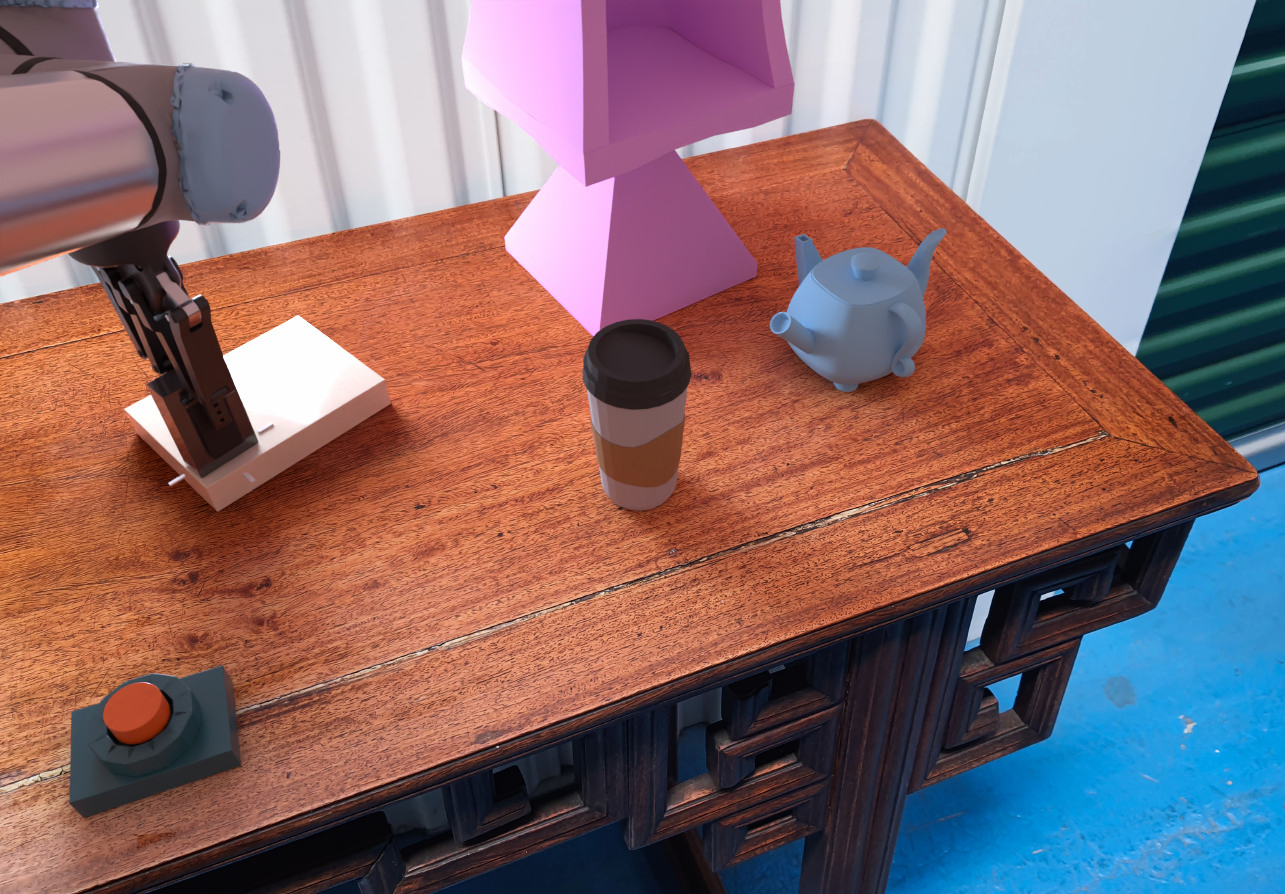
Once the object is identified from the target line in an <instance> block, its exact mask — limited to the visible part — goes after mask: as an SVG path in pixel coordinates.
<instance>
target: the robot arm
mask: <svg viewBox="0 0 1285 894" xmlns="http://www.w3.org/2000/svg"><path fill="white" fill-rule="evenodd" d="M98 8H99V4H98V1H97V0H0V278H1V277H4V276H7V275H10V274H13V273H16V272H19V271H22V270H25V269H27V268H30V267H33V266H37V265H39V264H41V263H45V262H48V261H50V260H54V259H56V258H60V257H62V256H65V255H68V256H69V257H70V258H72V259H73V260H74V261H76V262H78V263H80V264H82V265H85V266H89V267H91V270H92V271H93V272H94V274H95V275H96V277H97V279H98V281H99V282H100V285H101V286H102V288H103V290H104V292H105V294H106V296H107V298H108V299H109V301H110V303H111V305H112V307H113V308H114V311H115V313H116V315H117V317H118V319H119V320H120V322H121V324H122V326H123V327H124V329H125V331H126V333H127V335H128V337H129V340H130V341H131V342H132V345H133V346H134V348H135V350H136V354H137V355H138V356H139V358H141V359H142V360H144V361H145V360H147V359H148V360H149V363H150V366H151V369H152V370H153V372H154V373H156V375H158V376H161V375H163V374H165V373H167V372H168V371H170V370H172V369H175V371H176V373H177V375H178V377H179V379H180V380H181V382H182V384H183V386H184V388H185V390H186V392H187V394H188V395H186V396H184V397H182V398H181V399H179V401H180V402H181V404H182V405H183V406H184V407H185V408H186V409H188V408H189V410H190V412H191V415H192V417H193V419H194V421H195V423H196V425H197V428H198V430H199V432H200V434H201V436H202V438H203V440H204V443H205V445H206V447H207V449H208V451H209V453H210V456H211V457H213V458H214V459H215V460H217V459H218V458H220V457H221V456H223V455H225V454H226V453H228V452H229V451H231V450H232V449H234V448H236V447H237V446H239V445H240V444H242V443H243V442H244V440H243V438H242V435H241V433H240V431H239V428H238V426H237V423H236V421H235V419H234V416H233V414H232V412H231V409H230V407H229V405H228V402H227V400H226V396H227V395H229V394H231V393H232V392H234V391H235V388H234V385H233V382H232V379H231V376H230V373H229V371H228V368H227V365H226V362H225V359H224V354H223V351H222V348H221V344H220V342H219V339H218V337H217V333H216V330H215V328H214V327H215V326H214V324H213V322H212V310H211V309H212V308H211V305H210V302H209V300H208V299H207V298H206V297H205V296H204V295H202V294H198V295H197V296H194V297H192V298H191V297H190V295H189V293H188V291H187V288H186V287H185V285H184V282H183V281H184V275H183V273H182V270H181V268H180V266H179V264H178V262H177V261H176V259H175V258H174V257H173V256H171V255H169V256H168V253H169V249H170V247H171V246H172V244H173V243H174V241H175V240H176V238H177V236H178V235H179V233H180V229H181V221H186V222H194V223H196V224H197V225H199V226H206V227H207V226H210V225H211V224H244V223H248V222H250V221H253V220H255V219H257V218H258V217H259V216H260V215H261V214H262V213H263V212H264V211H265V210H266V208H267V207H268V206H269V204H270V203H271V201H272V198H273V197H274V194H275V192H276V189H277V186H278V181H279V177H280V169H281V149H280V140H279V130H278V125H277V121H276V118H275V114H274V112H273V109H272V107H271V104H270V102H269V100H268V99H267V97H266V95H265V94H264V92H263V91H262V90H261V89H260V87H259V86H258V85H257V84H256V83H255V82H254V81H253V80H252V79H250V78H249V77H248V76H246V75H244V74H242V73H240V72H237V71H234V70H229V69H220V68H210V67H203V66H196V65H195V64H194V63H192V62H182V64H160V63H159V64H158V63H142V62H128V61H117V58H116V56H115V54H114V50H113V49H112V46H111V42H110V39H109V37H108V35H107V32H106V29H105V26H104V24H103V21H102V18H101V16H100V13H99V10H98Z"/></svg>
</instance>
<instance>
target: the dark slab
mask: <svg viewBox="0 0 1285 894" xmlns="http://www.w3.org/2000/svg"><path fill="white" fill-rule="evenodd" d="M226 365H227V363H226ZM227 368H228V366H227ZM228 371H229V368H228ZM229 373H230V371H229ZM230 376H231V379H232V382H233V385H234V388H235V391H234V392H232V393H231V394H229V395H227V396H226V400H227V402H228V405H229V407H230V409H231V412H232V414H233V416H234V419H235V421H236V423H237V426H238V428H239V431H240V433H241V435H242V438H243V440H244V442H243V443H242V444H240V445H239V446H237V447H236V448H234V449H232V450H231V451H229V452H228V453H226V454H225V455H223V456H221V457H220V458H218V459H217V460H215V459H214V458H213V457H211V456H210V453H209V451H208V449H207V447H206V445H205V443H204V440H203V438H202V436H201V434H200V432H199V430H198V428H197V425H196V423H195V421H194V419H193V417H192V415H191V412H190V410H189V408H188V409H186V408H185V407H184V406H183V405H182V404H181V402H180V401H179V399H181V398H182V397H184V396H186V395H188V394H187V392H186V390H185V388H184V386H183V384H182V382H181V380H180V379H179V377H178V375H177V373H176V371H175V369H172V370H170V371H168V372H167V373H165V374H162V375H158V377H156V378H154V379H152V380H150V381H148V382H147V383H145V385H146V387H147V390H148V392H149V395H151V396H152V398H153V400H154V402H155V404H156V406H157V408H158V410H159V412H160V414H161V416H162V418H163V420H164V422H165V424H166V426H167V428H168V430H169V432H170V434H171V436H172V438H173V440H174V442H175V444H176V446H177V448H178V450H179V452H180V454H181V456H182V458H183V461H184V463H185V464H186V465H187V466H188V467H189V468H190V469H191V470H192V471H194V472H195V473H196V474H197V475H198V476H199V477H200V478H203V477H205V476H206V475H208V474H210V473H211V472H213V471H214V470H216V469H218V468H219V467H221V466H222V465H224V464H225V463H227V462H229V461H230V460H232V459H233V458H235V457H237V456H238V455H240V454H241V453H243V452H245V451H246V450H248V449H249V448H251V447H252V446H254V445H256V444H257V443H259V442H258V439H257V437H256V434H255V432H254V429H253V427H252V424H251V422H250V420H249V417H248V415H247V412H246V410H245V407H244V405H243V402H242V400H241V398H240V395H239V393H238V390H237V388H236V385H235V383H234V380H233V378H232V375H231V373H230Z"/></svg>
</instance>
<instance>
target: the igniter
mask: <svg viewBox="0 0 1285 894" xmlns="http://www.w3.org/2000/svg"><path fill="white" fill-rule="evenodd" d="M139 682H145V683H150V684H153V685H155V686H156V687H157V688H158V689H159V690H160V691H161V693H162V694H163V696H164V697H165V699H166V700H167V702H168V703H169V705H170V710H171V713H170V718H169V721H168V723H167V725H166V726H165V728H164V729H163V730H162V731H161V732H160V733H159V734H158V735H157V736H155V737H154V738H152V739H151V740H149V741H146V742H144V743H140V744H133V745H132V744H125V743H122V742H120V741H119V740H118V739H117V738H116V737H115V736H114V734H113V733H112V732H111V731H110V729H109V728H108V727H107V726H106V724H105V722H104V719H103V713H104V709H105V706H106V704H107V702H108V701H109V699H110V698H111V697H112V696H113V695H114V694H115V693H116V692H117V691H119V690H120V689H122V688H124V687H126V686H128V685H130V684H134V683H139ZM234 693H235V691H234V683H233V680H232V678H231V677H230V674H229V673H228V671H227V670H226V668H225V666H224V665H223V664H222V665H219V666H215V667H212V668H209V669H206V670H202V671H199V672H196V673H193V674H189V675H186V676H183V677H178V676H176V675H171V674H163V673H155V672H152V673H148V674H145V675H141V676H138V677H135V678H132V679H128V680H126V681H124V682H122V683H121V684H120V685H118V686H117V687H116V688H114V689H113V690H112V691H110V692H109V693H108V694H106V695H105V696H103V698H102V699H101V700H100V702H98V703H95V704H90V705H89V706H85V707H82V708H79V709H76V710H72V711H71V713H70V714H71V716H70V717H71V718H70V719H71V720H70V757H69V758H70V759H69V760H70V761H69V764H70V765H69V766H70V767H69V771H70V772H69V803H68V804H69V805H70V806H71V807H72V808H73V809H74V810H75V811H76V812H77V813H78V814H79V815H80V816H81V817H82V818H83V819H85V818H89V817H91V816H95V815H99V814H100V813H103V812H106V811H109V810H112V809H115V808H119V807H122V806H124V805H127V804H130V803H131V804H132V803H134V802H137V801H139V800H142V799H143V800H144V799H146V798H149V797H151V796H155V795H158V794H161V793H164V792H166V791H169V790H173V789H176V788H178V787H181V786H182V787H183V786H185V785H188V784H191V783H193V782H196V781H200V780H202V779H206V778H208V777H212V776H215V775H218V774H221V773H225V772H227V771H230V770H233V769H236V768H239V767H242V756H241V747H240V741H239V740H240V738H239V729H238V720H237V711H236V702H235V694H234Z"/></svg>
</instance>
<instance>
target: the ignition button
mask: <svg viewBox="0 0 1285 894" xmlns="http://www.w3.org/2000/svg"><path fill="white" fill-rule="evenodd" d="M170 713H171V710H170V705H169V703H168V702H167V700H166V699H165V697H164V696H163V694H162V693H161V691H160V690H159V689H158V688H157V687H156V686H155V685H153V684H150V683H145V682H139V683H134V684H130V685H128V686H126V687H124V688H122V689H120V690H119V691H117V692H116V693H115V694H114V695H113V696H112V697H111V698H110V699H109V701H108V702H107V704H106V706H105V709H104V713H103V719H104V722H105V724H106V726H107V727H108V728H109V729H110V731H111V732H112V733H113V734H114V736H115V737H116V738H117V739H118V740H119V741H120V742H122V743H125V744H132V745H133V744H140V743H144V742H146V741H149V740H151V739H152V738H154V737H155V736H157V735H158V734H159V733H160V732H161V731H162V730H163V729H164V728H165V726H166V725H167V723H168V721H169V718H170Z"/></svg>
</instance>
